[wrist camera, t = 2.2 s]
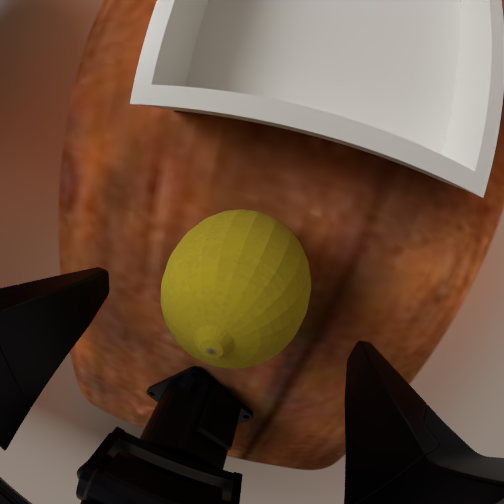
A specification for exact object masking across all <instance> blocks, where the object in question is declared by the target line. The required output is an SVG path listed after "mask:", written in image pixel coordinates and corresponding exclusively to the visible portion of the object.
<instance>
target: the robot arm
mask: <svg viewBox="0 0 504 504" xmlns="http://www.w3.org/2000/svg"><path fill="white" fill-rule="evenodd" d="M108 294H109V274H108V271H107V270H105V269H102V268H99V267H96V268H92V269H87V270H82V271H78V272H73V273H68V274H63V275H59V276H54V277H50V278H46V279H41V280H36V281H32V282H27V283H23V284H19V285H13V286H9V287H4V288H0V447H1V448H2V449H3V450H6V449H7V447H8V446H9V444H10V442H11V440H12V439H13V437H14V435H15V433H16V431H17V430H18V428H19V427H20V425H21V423H22V422H23V420H24V418H25V417H26V415H27V414H28V412H29V411H30V407H32V406H33V404H34V402H35V401H36V399H37V398H38V396H39V395H40V393H41V392H42V390H43V388H44V387H45V386H46V384H47V383H48V381H49V380H50V378H51V377H52V375H53V374H54V373H55V371H56V370H57V368H58V367H59V365H60V364H61V363H62V361H63V360H64V359H65V357H66V355H67V354H68V353H69V352H70V350H71V349H72V348H73V346H74V345H75V344H76V342H77V341H78V340H79V338H80V337H81V336H82V334H83V333H84V332H85V330H86V329H87V328H88V326H89V325H90V323H91V322H92V320H93V318H94V317H95V315H96V314H97V312H98V310H99V309H100V307H101V306H102V304H103V302H104V301H105V299H106V298H107V296H108ZM196 373H197V374H196ZM147 394H148V395H149V396H150V397H151V398H153V399H154V400H155V401H156V402H158V404H157V406H156V407H155V409H154V411H153V413H152V415H151V417H150V419H149V421H148V423H147V425H146V427H145V429H144V431H143V433H142V435H141V437H140V439H139V438H137V437H135V436H133V435H131V434H128V433H126V432H125V431H124V430H123V429H121V428H119V427H116V428H115V429H114V431H113V432H112V433H109V435H108V436H107V437H106V438H105V440H104V441H103V442H102V443H101V445H100V446H99V447H98V449H97V450H96V451H95V453H94V454H93V455H92V456H91V458H90V459H89V460H88V461H87V462H86V463H84V464H83V465H82V466H81V467H80V468H79V469H78V471H77V476H78V479H79V482H78V486H77V491H76V495H77V498H78V499H80V500H81V504H239V502H240V493H241V482H242V474H240V473H236V472H234V473H232V472H228V471H225V470H223V467H224V463H225V459H226V456H227V452H228V450H230V449H231V447H232V443H233V439H234V435H235V431H236V427H237V424H239V423H242V422H246V421H249V420H251V419H252V418H253V412H252V411H251V410H249V409H248V408H247V407H246V406H244V405H243V404H242V403H241V402H239V401H238V400H237V399H236V398H234V397H233V396H232V395H231V394H230V393H228V392H227V391H226V390H225V389H224V388H222V387H221V386H220V385H219V384H218V383H217V382H215V381H214V380H213V379H212V378H211V377H210V376H208V375H207V374H206V373H205V372H204V371H203V370H202V369H200V368H199V367H196V366H193V367H190V368H188V369H186V370H184V371H182V372H180V373H178V374H176V375H174V376H172V377H169V378H167V379H165V380H163V381H161V382H159V383H157V384H155V385H152V386H150V387H149V388H148V390H147ZM345 438H346V464H345V465H346V466H345V470H346V471H345V498H344V504H504V458H495V457H486V456H483V455H480V454H478V453H477V452H475V451H474V450H473V449H471V448H470V447H469V446H468V445H467V444H466V443H465V442H464V441H463V440H462V439H461V438H460V437H458V435H457V434H456V433H454V432H453V431H452V430H451V429H450V428H449V427H448V426H447V425H446V424H445V423H444V422H443V421H442V420H441V419H440V418H439V417H438V416H437V415H436V413H435V412H434V411H433V410H432V409H431V408H430V407H429V406H428V405H427V404H426V402H425V401H424V400H423V399H422V398H421V397H420V396H419V395H418V394H417V393H416V392H415V390H414V389H413V388H412V387H411V386H410V385H409V384H408V383H407V382H406V381H405V379H404V378H403V377H402V376H401V375H400V374H399V373H398V372H397V371H396V370H395V369H394V368H393V367H392V365H391V364H390V363H389V362H388V361H387V360H386V359H385V358H384V357H383V356H382V355H381V354H380V353H379V352H378V350H377V349H376V348H375V347H374V346H373V345H372V344H371V343H370V342H366V341H358V342H357V343H356V345H355V347H354V349H353V351H352V352H351V354H350V356H349V358H348V361H347V372H346V387H345ZM0 504H32V503H31V502H29V501H28V500H27V499H25V498H24V497H23V496H22V495H20V494H19V493H18V492H17V491H16V490H14V489H13V488H12V487H11V486H10V485H8V484H7V483H6V482H5V481H4V480H3V479H2V478H1V477H0Z"/></svg>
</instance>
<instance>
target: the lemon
mask: <svg viewBox="0 0 504 504" xmlns="http://www.w3.org/2000/svg"><path fill="white" fill-rule="evenodd" d="M310 292H311V277H310V269H309V262H308V259H307V257H306V255H305V252H304V250H303V248H302V245H301V243H300V242H299V240H298V239H297V238H296V237H295V235H294V234H293V233H292V232H291V230H290V229H289V228H287V227H286V226H285V225H284V224H282V223H281V222H280V221H278V220H277V219H276V218H274V217H271V216H269V215H266V214H264V213H262V212H258V211H251V210H244V209H240V210H230V211H224V212H221V213H218V214H216V215H213V216H211V217H208V218H206V219H204V220H203V221H202V222H200V223H199V224H198V225H196V226H195V227H194V228H192V229H191V230H190V231H189V232H187V234H186V235H185V236H184V237H183V239H182V240H181V241H180V243H179V244H178V245H177V247H176V248H175V250H174V251H173V253H172V254H171V256H170V258H169V261H168V264H167V267H166V270H165V273H164V276H163V279H162V283H161V308H162V312H163V316H164V320H165V323H166V325H167V327H168V329H169V331H170V333H171V334H172V336H173V338H174V339H175V340H176V342H177V343H178V344H179V345H180V346H181V347H182V348H183V349H184V350H185V351H186V352H188V353H189V354H190V355H191V356H193V357H194V358H196V359H198V360H200V361H201V362H203V363H205V364H208V365H212V366H215V367H218V368H226V369H243V368H249V367H252V366H256V365H259V364H262V363H264V362H266V361H267V360H269V359H271V358H273V357H274V356H276V355H277V354H279V353H280V352H281V351H282V350H283V349H284V348H285V347H286V346H287V345H288V344H289V343H290V342H291V341H292V339H293V338H294V336H295V335H296V333H297V331H298V329H299V327H300V325H301V323H302V321H303V319H304V317H305V315H306V312H307V308H308V303H309V298H310Z"/></svg>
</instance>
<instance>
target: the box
mask: <svg viewBox="0 0 504 504" xmlns="http://www.w3.org/2000/svg"><path fill="white" fill-rule="evenodd" d="M503 93H504V19H503V9H502V1H501V0H157V2H156V5H155V8H154V11H153V14H152V17H151V20H150V23H149V27H148V30H147V33H146V37H145V40H144V44H143V48H142V51H141V55H140V59H139V63H138V67H137V72H136V76H135V80H134V85H133V90H132V95H131V100H130V104H135V105H143V106H149V107H156V108H162V109H168V110H175V111H184V112H192V113H200V114H207V115H214V116H221V117H227V118H233V119H238V120H244V121H249V122H254V123H259V124H264V125H269V126H274V127H278V128H282V129H287V130H291V131H295V132H299V133H303V134H307V135H311V136H315V137H318V138H322V139H325V140H329V141H332V142H336V143H339V144H343V145H346V146H349V147H352V148H355V149H358V150H362V151H365V152H368V153H371V154H373V155H376V156H379V157H382V158H385V159H388V160H390V161H393V162H396V163H398V164H401V165H404V166H406V167H409V168H411V169H414V170H416V171H419V172H421V173H424V174H426V175H428V176H431V177H433V178H435V179H438V180H440V181H442V182H445V183H447V184H450V185H453V186H455V187H458V188H460V189H463V190H465V191H468V192H470V193H473V194H475V195H477V196H480V197H482V198H483V197H484V194H485V190H486V187H487V183H488V179H489V176H490V172H491V167H492V163H493V159H494V154H495V149H496V144H497V139H498V133H499V127H500V120H501V112H502V104H503Z"/></svg>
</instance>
